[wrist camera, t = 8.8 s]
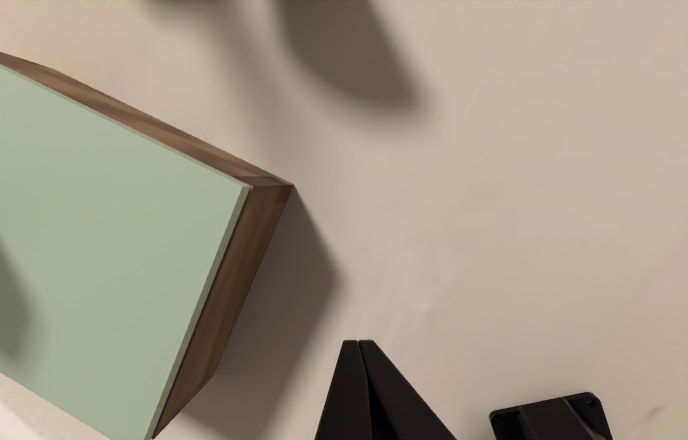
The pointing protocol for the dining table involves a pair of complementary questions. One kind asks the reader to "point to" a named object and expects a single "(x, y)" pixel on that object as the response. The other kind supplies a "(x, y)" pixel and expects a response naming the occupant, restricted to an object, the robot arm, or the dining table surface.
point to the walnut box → (243, 243)
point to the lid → (101, 256)
